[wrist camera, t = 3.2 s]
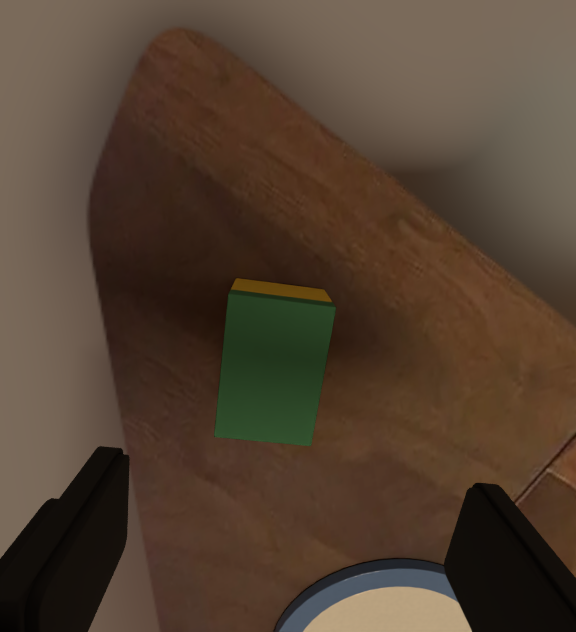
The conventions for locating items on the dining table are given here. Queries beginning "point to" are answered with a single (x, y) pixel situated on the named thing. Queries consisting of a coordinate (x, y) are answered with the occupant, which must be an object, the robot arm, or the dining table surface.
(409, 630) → the plate
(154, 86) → the dining table surface
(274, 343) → the sponge
